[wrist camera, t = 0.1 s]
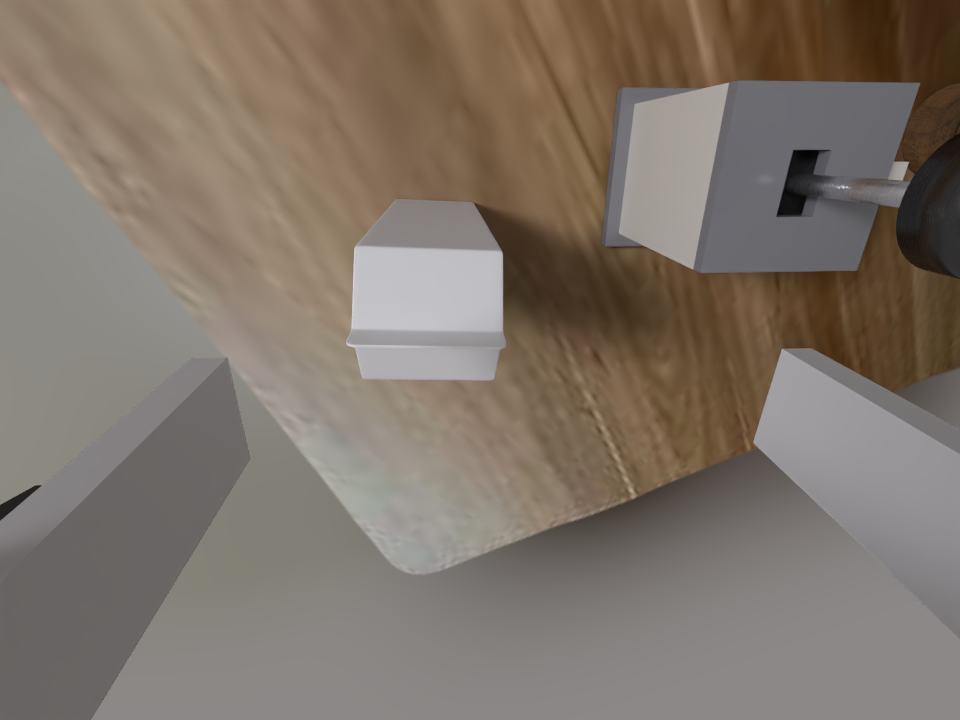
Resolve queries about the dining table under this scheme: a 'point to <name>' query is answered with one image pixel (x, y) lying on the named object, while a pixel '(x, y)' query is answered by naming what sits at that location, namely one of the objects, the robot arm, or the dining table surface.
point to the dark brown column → (932, 126)
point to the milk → (428, 294)
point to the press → (749, 171)
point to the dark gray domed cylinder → (896, 203)
